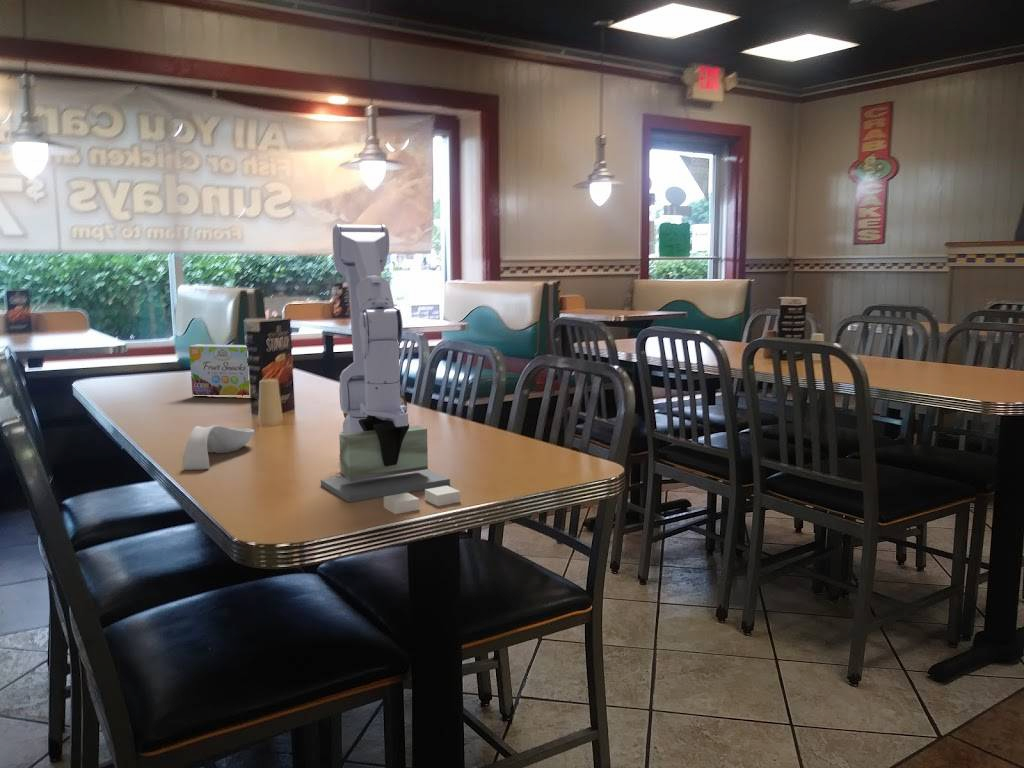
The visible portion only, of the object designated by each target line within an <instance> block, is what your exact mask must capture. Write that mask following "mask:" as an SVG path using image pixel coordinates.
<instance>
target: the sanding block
mask: <svg viewBox="0 0 1024 768" xmlns="http://www.w3.org/2000/svg"><path fill="white" fill-rule="evenodd" d="M338 437H339V438H338V439H339V455H340V457H339V461H340V463H339V465H340V468H339V469H340V470H339V471H340V477H343V478H345V479H347V480H349V481H355V480H362V479H368V478H374V477H381V476H387V475H394V474H400V473H407V472H413V471H420V470H426V469H428V470H429V468H428V466H429V460H428V458H429V457H428V456H429V455H428V428H426V427H424V426H423V427H422V426H420V425H417V424H414V425H409V429H408V431H407V432H406V434H405V436H404V439H403V442H402V445H401V449H400V453H399V458H398V462H397V465H391V466H384V463H383V459H382V453H381V446H380V442H379V438H378V436H377V433H376V431H375V430H371V431H362V432H354V433H346V434H343V433H340V434H339V436H338Z"/></svg>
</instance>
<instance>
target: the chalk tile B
mask: <svg viewBox="0 0 1024 768" xmlns="http://www.w3.org/2000/svg"><path fill="white" fill-rule="evenodd" d="M424 500H425V501H426V502H428V503H430V504H433V506H436V507H440V506H445V505H451V504H455V503H456V504H457V503H460V502H461V491H460V490H458V489H456V488H453V486H452V487H451V486H450V485H446V486H440V487H434V488H429V489H424Z"/></svg>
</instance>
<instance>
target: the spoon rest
mask: <svg viewBox="0 0 1024 768" xmlns="http://www.w3.org/2000/svg"><path fill="white" fill-rule="evenodd" d="M254 435H255V430H254V429H252V428H241V427H240V428H230V427H227V426H222V425H217V424H215V425H211V426H207V427H206V426H205V427H204V426H200V425H197V426H195V427H194V428H193V429H192V430H191V433H190V435H189V437H188V440H187V443H186V447H185V450H184V453H183V454H184V455H183V459H182V469H183V470H185V471H193V470H195V471H197V470H198V471H200V470H209V469H210V467H211V466H210V458H209V453H212V452H216V453H215V454H221V453H223V454H224V453H231V451H232V452H236V451H238V450H240V449H241V448H243V447H245V446H246V445H247V444H249V442H250V441H251V439H252V438H253V436H254ZM208 452H209V453H208Z"/></svg>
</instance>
